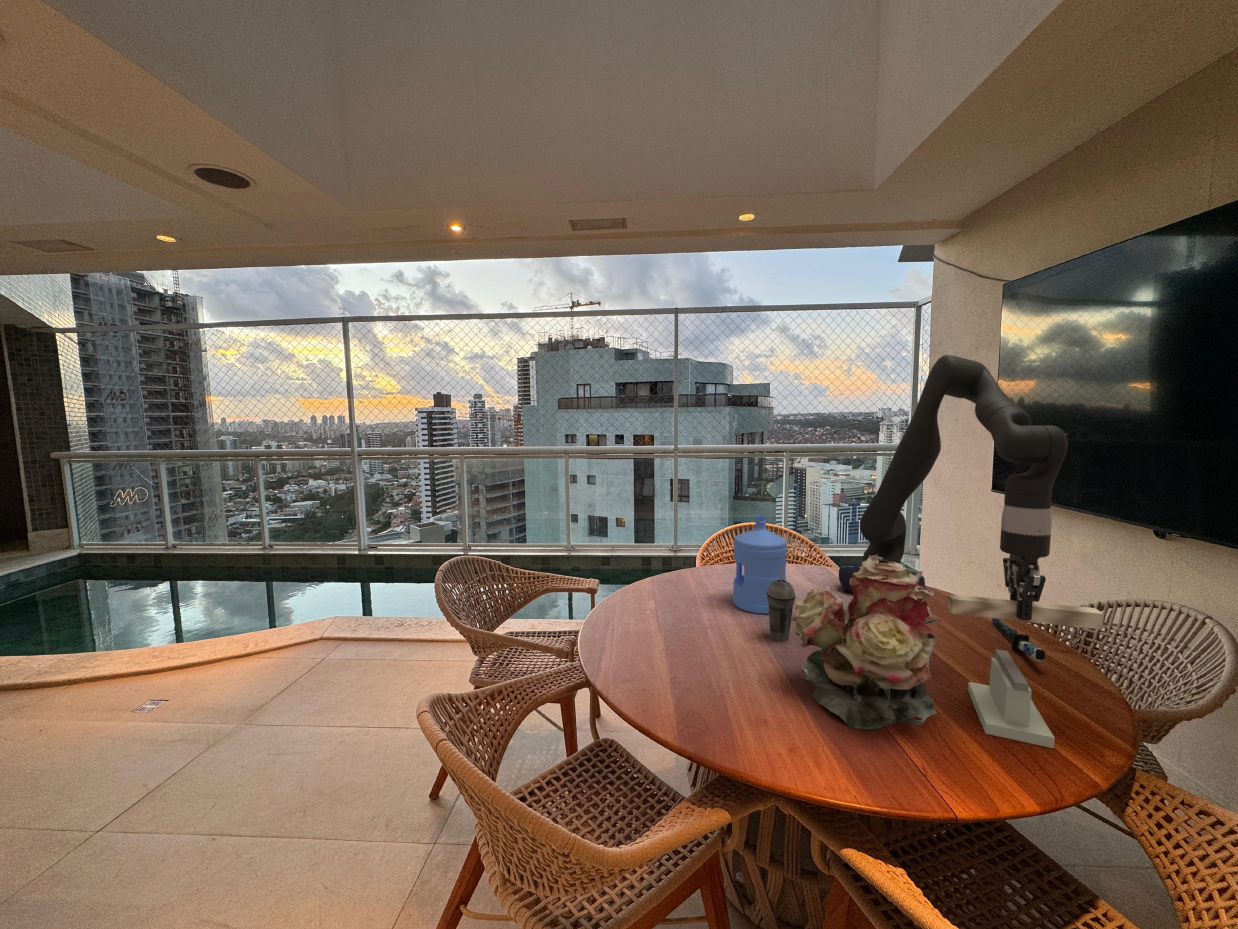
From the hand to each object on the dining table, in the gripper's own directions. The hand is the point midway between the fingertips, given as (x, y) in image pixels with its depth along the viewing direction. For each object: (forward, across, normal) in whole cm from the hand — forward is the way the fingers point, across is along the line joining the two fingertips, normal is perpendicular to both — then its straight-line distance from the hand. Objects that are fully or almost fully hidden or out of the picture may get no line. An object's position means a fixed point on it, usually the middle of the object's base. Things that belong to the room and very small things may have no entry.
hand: (1019, 615), depth 99 cm
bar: (+1, 0, 0) cm, 1 cm away
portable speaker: (+19, +62, +16) cm, 67 cm away
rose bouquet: (+20, -4, +27) cm, 34 cm away
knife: (+20, +34, -11) cm, 41 cm away
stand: (+20, -3, +2) cm, 20 cm away
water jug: (+19, +41, +53) cm, 69 cm away
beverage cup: (+19, +19, +45) cm, 53 cm away
